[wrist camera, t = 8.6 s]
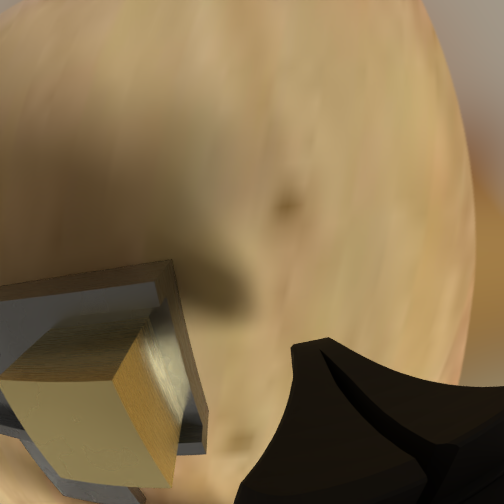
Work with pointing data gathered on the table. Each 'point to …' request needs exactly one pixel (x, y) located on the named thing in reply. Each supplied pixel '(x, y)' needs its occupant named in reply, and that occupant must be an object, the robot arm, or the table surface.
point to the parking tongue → (85, 484)
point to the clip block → (99, 403)
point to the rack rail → (106, 310)
